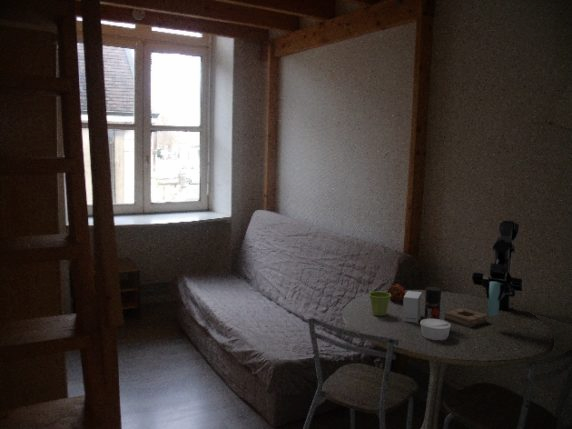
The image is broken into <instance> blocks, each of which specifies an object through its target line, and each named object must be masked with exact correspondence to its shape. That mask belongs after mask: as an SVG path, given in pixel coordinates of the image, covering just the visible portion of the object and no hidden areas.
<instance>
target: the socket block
mask: <svg viewBox="0 0 572 429" xmlns="http://www.w3.org/2000/svg"><path fill="white" fill-rule="evenodd" d="M444 321H446V322H451V323H454V324H458V325H460V326H464V327H467V328H473V327H475V326H478V325H479V326H480V325H482V324H485V323H487V322H488V314H486V313H482V312H478V311H474V310H470V309H467V308H464V307H460V308H456V309H452V310H450V311H445V312H444Z"/></svg>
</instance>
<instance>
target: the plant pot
mask: <svg viewBox="0 0 572 429" xmlns="http://www.w3.org/2000/svg"><path fill="white" fill-rule="evenodd" d="M386 292H387V291H371V292H369V293H368V295H369V298H370V303H371V311H372V312H371V313H372V315H374V316H380V317H381V316H386V315H387V314H388V308H389V304H390V303H389V301H390V297H391V294H389V293H386Z"/></svg>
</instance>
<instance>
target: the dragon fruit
mask: <svg viewBox="0 0 572 429" xmlns="http://www.w3.org/2000/svg"><path fill="white" fill-rule="evenodd" d="M385 292H386V293H389V294H391V297H390V299H389V301H390V300H391V301H393V302H396V303H398V302H400V301H403V300H404V296H405V294H406V289H405V287H404V286H401V284H399V283H395V284H393V285H390V286H389V287H388V289H387V290H386V291H385Z"/></svg>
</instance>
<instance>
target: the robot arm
mask: <svg viewBox="0 0 572 429" xmlns="http://www.w3.org/2000/svg"><path fill="white" fill-rule="evenodd" d="M498 227H499V228H498V233H500V234H499V237H498V238H496V240H495V242H494V243H493V245H492V251H493V253H494V254H493V256H494V261H493V263H492V262H491V263H490V266H489V275H484V272H477V271H474V272H473V273H472V274H471V275H472V276H471V279H472V283H473V284H474V285H475V286H482V288H484V289H485V291H486V293H485V294H486V299H487V300H489V285H490V282H491V281H495V282H500V283H501V285H500V295H499V310H502V311H508V310H511V309H513V306H510V303H511V297H512V298H513V297H516V291H517V292H523V289H524V280H523V279H522V278H521V277H515V276H511V266H512V265H511V264H512V257H513V256H512V255H513V254H514V253H515V252H516V246H515V244H514V243H515V242H516V241H517V239H518V235H520V228H521V227H520V224H519V223H516V221H514V220H502V222H500V223H499V224H498Z"/></svg>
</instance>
